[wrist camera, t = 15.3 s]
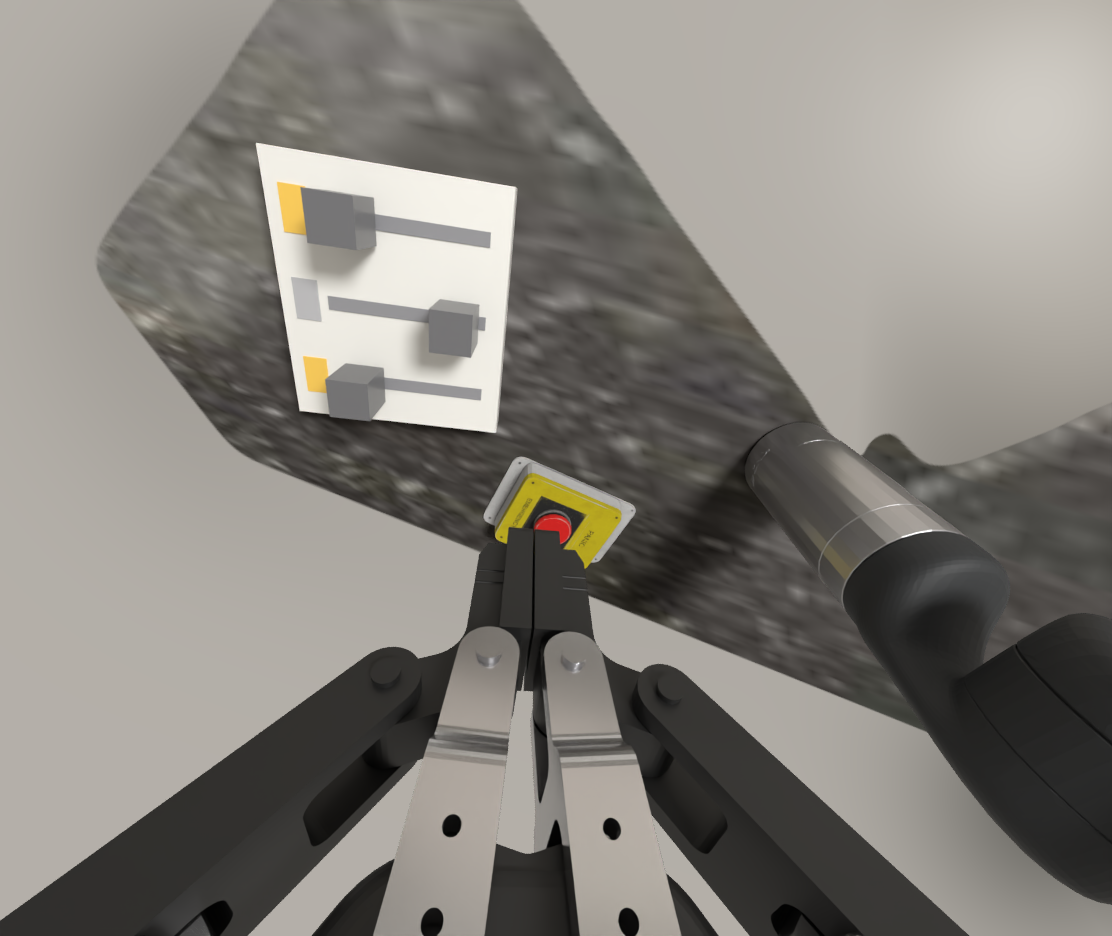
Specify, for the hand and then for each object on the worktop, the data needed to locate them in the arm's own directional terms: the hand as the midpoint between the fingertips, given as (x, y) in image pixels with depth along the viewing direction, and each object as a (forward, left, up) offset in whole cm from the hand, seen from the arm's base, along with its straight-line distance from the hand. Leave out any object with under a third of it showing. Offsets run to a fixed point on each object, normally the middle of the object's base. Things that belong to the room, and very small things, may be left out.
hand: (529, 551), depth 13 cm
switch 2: (+13, +6, -26) cm, 29 cm away
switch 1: (+13, -6, -26) cm, 30 cm away
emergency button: (-5, +20, -30) cm, 36 cm away
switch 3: (+6, 0, -26) cm, 26 cm away
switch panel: (+11, 0, -29) cm, 31 cm away
